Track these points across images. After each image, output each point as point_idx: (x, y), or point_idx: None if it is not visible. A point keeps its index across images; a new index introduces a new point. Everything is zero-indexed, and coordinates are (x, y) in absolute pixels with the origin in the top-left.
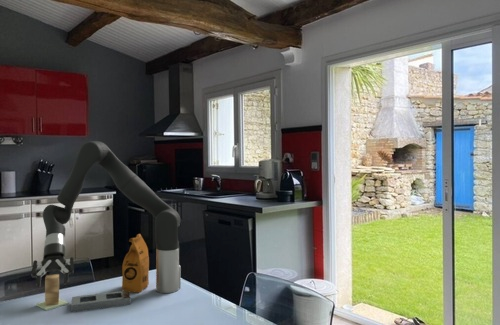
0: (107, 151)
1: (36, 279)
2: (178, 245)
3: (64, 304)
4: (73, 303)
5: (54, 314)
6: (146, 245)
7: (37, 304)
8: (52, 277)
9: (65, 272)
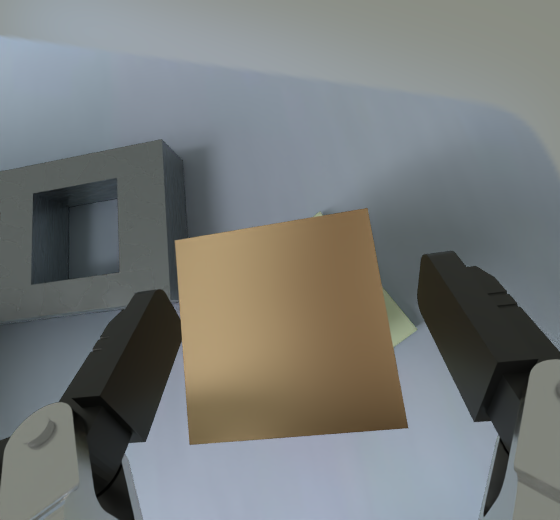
0: None
1: (530, 321)
2: None
3: None
4: (151, 165)
5: (262, 148)
6: None
7: (401, 311)
8: (263, 244)
9: (73, 411)
